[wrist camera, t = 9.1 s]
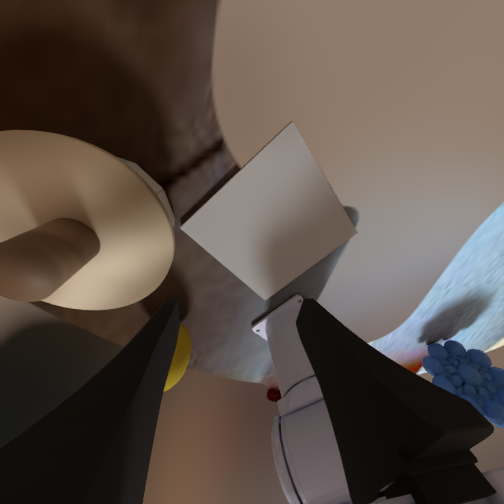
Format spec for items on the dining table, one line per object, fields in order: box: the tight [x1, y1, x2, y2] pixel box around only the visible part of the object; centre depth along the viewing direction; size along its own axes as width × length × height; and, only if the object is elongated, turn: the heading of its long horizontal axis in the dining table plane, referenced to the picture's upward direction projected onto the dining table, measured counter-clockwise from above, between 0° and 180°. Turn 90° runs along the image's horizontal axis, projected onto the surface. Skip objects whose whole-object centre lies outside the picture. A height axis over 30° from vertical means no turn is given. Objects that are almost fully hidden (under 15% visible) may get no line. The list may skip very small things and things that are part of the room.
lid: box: [0, 130, 175, 310], centre depth 11 cm, size 12×12×5 cm
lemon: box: [163, 323, 191, 392], centre depth 20 cm, size 6×6×8 cm
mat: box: [180, 121, 357, 300], centre depth 20 cm, size 13×13×1 cm
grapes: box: [422, 340, 504, 428], centre depth 31 cm, size 12×7×12 cm, turn 101°
